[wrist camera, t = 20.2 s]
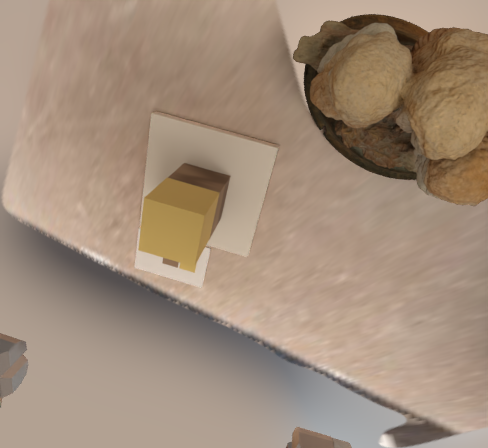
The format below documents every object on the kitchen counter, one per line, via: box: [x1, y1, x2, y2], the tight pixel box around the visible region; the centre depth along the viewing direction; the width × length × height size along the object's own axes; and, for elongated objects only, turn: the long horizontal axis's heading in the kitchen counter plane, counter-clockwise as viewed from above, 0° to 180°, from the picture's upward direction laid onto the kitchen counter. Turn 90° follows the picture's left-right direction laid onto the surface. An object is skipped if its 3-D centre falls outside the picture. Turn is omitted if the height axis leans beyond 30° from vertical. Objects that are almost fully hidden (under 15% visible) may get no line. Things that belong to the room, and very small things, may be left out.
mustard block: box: [138, 178, 219, 267], centre depth 31 cm, size 5×5×5 cm
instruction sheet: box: [135, 227, 211, 288], centre depth 44 cm, size 9×6×1 cm, turn 77°
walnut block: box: [168, 163, 231, 240], centre depth 36 cm, size 5×5×5 cm
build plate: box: [139, 111, 279, 257], centre depth 39 cm, size 13×13×1 cm
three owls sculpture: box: [293, 14, 488, 206], centre depth 25 cm, size 18×12×17 cm, turn 58°
